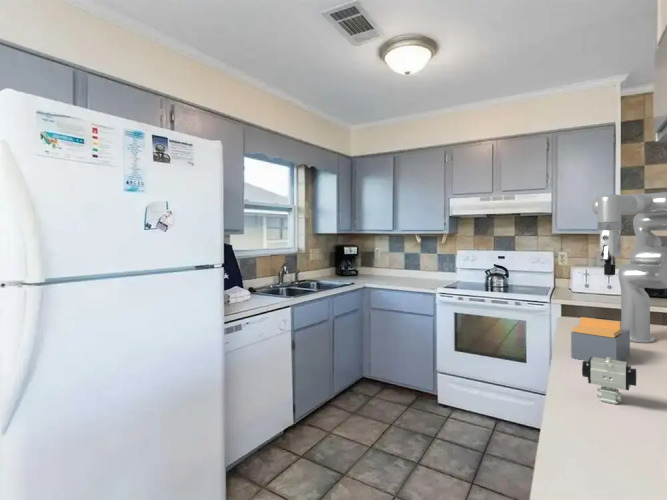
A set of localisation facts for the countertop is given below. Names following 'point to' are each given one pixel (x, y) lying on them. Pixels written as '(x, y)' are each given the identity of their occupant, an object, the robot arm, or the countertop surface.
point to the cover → (598, 327)
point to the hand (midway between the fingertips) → (609, 274)
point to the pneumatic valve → (609, 377)
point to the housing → (600, 346)
